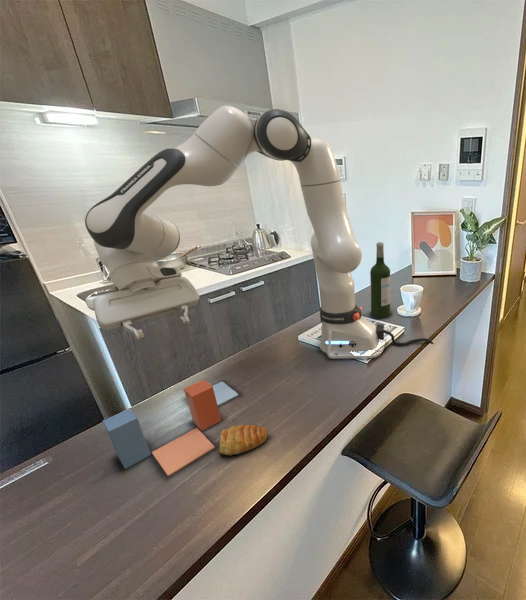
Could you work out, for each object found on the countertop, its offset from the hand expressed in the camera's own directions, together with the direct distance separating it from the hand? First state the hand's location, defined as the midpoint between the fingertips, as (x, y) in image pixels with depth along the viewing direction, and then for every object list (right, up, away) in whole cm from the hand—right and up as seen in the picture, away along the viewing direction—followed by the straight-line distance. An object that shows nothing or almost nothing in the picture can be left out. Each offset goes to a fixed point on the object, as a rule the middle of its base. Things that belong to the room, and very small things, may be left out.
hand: (164, 330), depth 77 cm
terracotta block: (+10, -22, +1) cm, 24 cm away
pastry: (+21, -25, -5) cm, 33 cm away
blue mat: (+6, -18, +9) cm, 22 cm away
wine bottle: (+48, +1, +58) cm, 75 cm away
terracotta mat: (+9, -25, -7) cm, 28 cm away
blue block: (0, -26, -8) cm, 27 cm away
